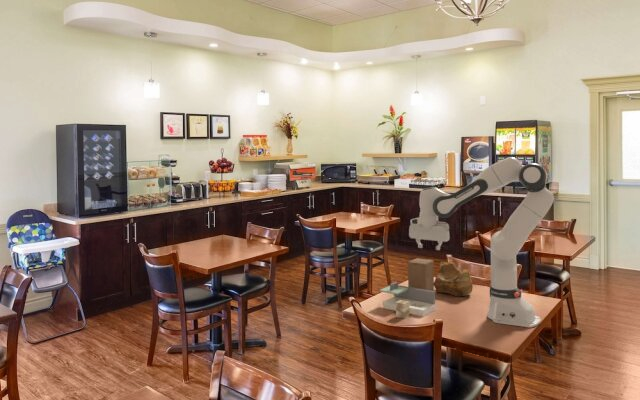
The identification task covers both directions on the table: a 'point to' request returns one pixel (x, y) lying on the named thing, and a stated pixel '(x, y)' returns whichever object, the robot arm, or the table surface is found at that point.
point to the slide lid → (394, 289)
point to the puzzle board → (414, 301)
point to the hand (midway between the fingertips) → (429, 248)
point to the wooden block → (421, 274)
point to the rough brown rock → (453, 280)
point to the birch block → (402, 309)
